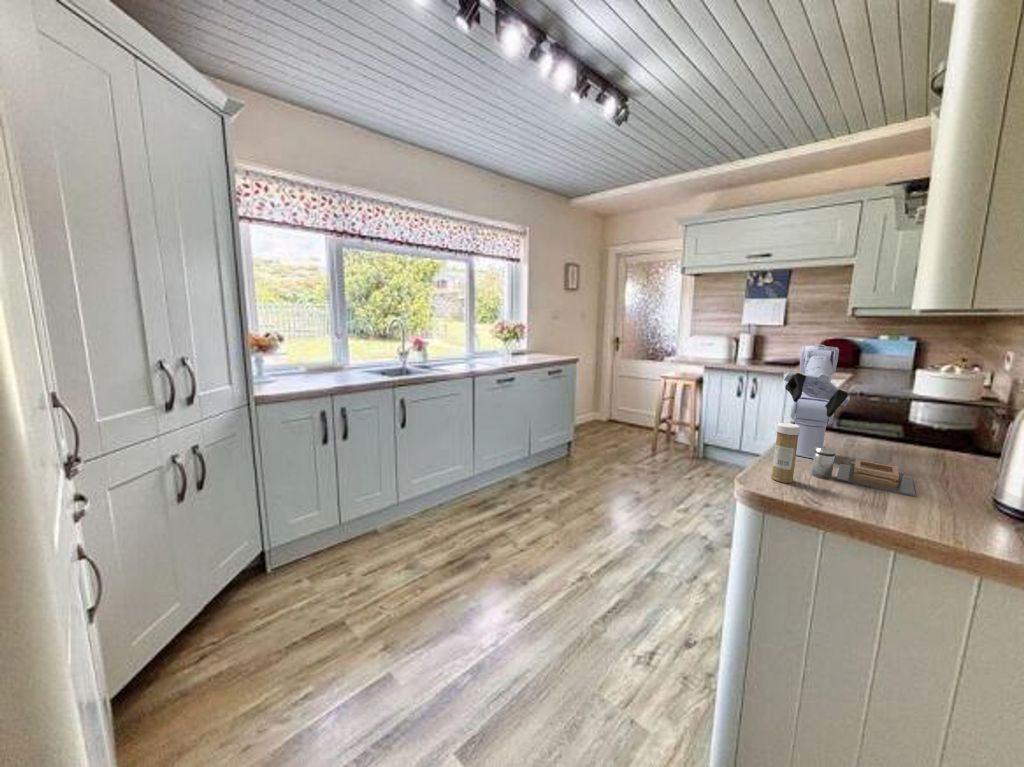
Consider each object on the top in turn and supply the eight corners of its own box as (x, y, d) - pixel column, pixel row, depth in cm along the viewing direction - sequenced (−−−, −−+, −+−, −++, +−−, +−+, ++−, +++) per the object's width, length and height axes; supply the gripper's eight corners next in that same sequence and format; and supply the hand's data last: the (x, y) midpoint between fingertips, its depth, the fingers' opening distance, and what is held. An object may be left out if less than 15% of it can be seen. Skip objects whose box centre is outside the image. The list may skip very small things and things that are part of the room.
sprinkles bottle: (796, 481, 104) (804, 425, 101) (787, 485, 101) (794, 428, 99) (776, 475, 107) (783, 421, 105) (766, 478, 105) (773, 423, 103)
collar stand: (839, 465, 116) (841, 453, 115) (911, 479, 107) (913, 466, 107) (836, 480, 105) (838, 467, 104) (915, 497, 96) (917, 483, 96)
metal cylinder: (812, 471, 110) (816, 444, 109) (832, 475, 108) (836, 448, 107) (810, 476, 107) (814, 448, 106) (831, 480, 105) (835, 452, 104)
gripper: (796, 353, 114) (791, 380, 104) (858, 378, 109) (858, 408, 100) (781, 373, 118) (775, 401, 109) (840, 398, 114) (838, 429, 105)
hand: (813, 406), depth 105 cm, fingers open, 7 cm apart
